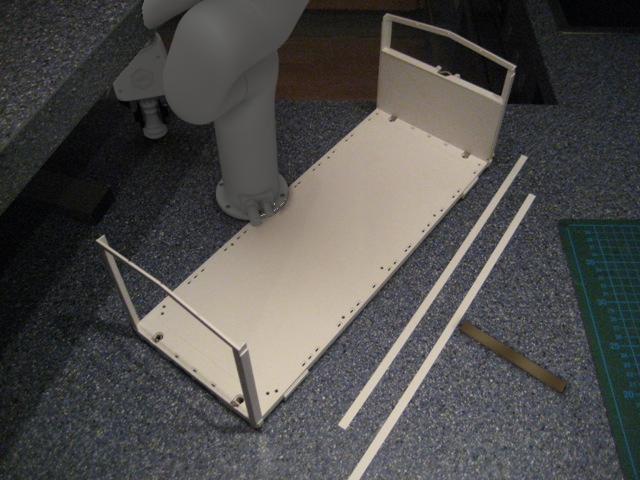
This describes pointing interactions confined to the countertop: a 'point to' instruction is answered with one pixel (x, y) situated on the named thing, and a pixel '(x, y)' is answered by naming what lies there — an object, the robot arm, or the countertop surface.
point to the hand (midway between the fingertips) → (153, 121)
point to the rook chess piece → (152, 119)
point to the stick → (513, 357)
